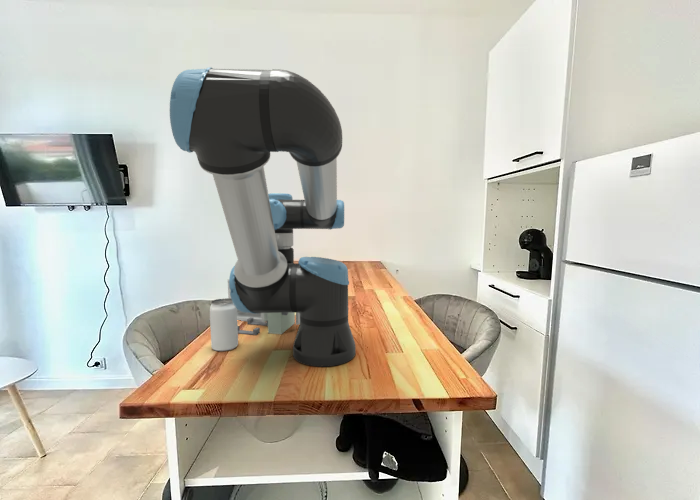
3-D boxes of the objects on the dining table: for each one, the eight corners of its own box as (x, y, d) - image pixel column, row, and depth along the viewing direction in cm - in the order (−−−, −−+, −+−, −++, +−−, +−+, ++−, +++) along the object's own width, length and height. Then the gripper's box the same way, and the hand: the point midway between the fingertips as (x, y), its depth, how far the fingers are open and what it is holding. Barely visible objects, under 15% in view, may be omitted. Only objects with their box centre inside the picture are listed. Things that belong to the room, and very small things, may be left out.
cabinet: (256, 335, 98) (255, 289, 97) (208, 330, 102) (206, 286, 100) (284, 315, 116) (283, 277, 115) (242, 312, 120) (241, 275, 118)
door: (285, 334, 99) (284, 300, 98) (268, 333, 100) (267, 298, 99) (298, 323, 109) (298, 291, 107) (282, 322, 110) (282, 290, 109)
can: (229, 352, 86) (227, 305, 85) (206, 350, 87) (203, 303, 86) (242, 343, 92) (241, 298, 91) (220, 341, 94) (218, 297, 92)
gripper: (321, 247, 103) (322, 321, 105) (251, 245, 108) (253, 315, 111) (313, 250, 96) (313, 329, 98) (238, 247, 101) (240, 322, 103)
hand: (281, 321), depth 104 cm, fingers open, 10 cm apart
